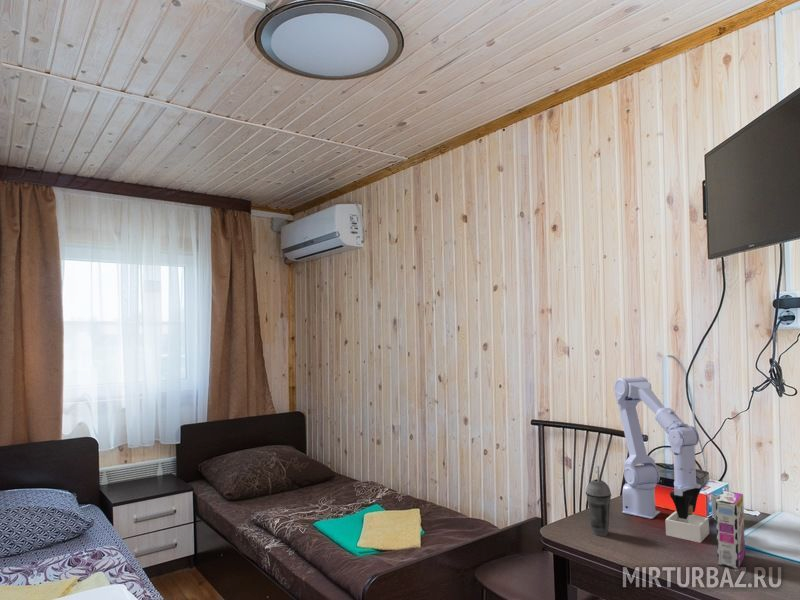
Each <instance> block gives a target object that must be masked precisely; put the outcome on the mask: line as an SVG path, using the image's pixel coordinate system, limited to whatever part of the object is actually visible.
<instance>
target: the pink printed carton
mask: <svg viewBox="0 0 800 600" xmlns="http://www.w3.org/2000/svg"><path fill="white" fill-rule="evenodd" d="M719 495H720V496H719V497H718V498H717V500H716V520H715V521H716V544H717V545H716V547H717V548H716V549H717V552H716V553H717V554H716V555H717V565H718V566H722V567H726V568H729V569H730V568H731V569H734V570H740V567H741V564H742V562H743V560H744V559H745V556H746V543H745V542H746V539H745V514H744V513H745V510H744V509H745V508H744V494H743V493H738V492H733V491H726V490H723V491H722V492H721V493H720V494H719Z"/></svg>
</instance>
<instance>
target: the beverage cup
mask: <svg viewBox="0 0 800 600" xmlns="http://www.w3.org/2000/svg"><path fill="white" fill-rule="evenodd" d="M596 468H597V469H596V470H597V479H593V480H591V481H590V482H588V484H587V486H586V489H585V495H586V500H587V506H588V513H589V521H590V522H589V523H590V528H591V533H592V534H593V535H594V534H595V536H598V535H599V536H600V537H605V536H608V535H609V526H610V525H609V524H610V507H611V506H610V505H611V504H610V503H611V500H612V493H611V489H610V486H609V485H608V484H607V483H606V482H605V480H604V481H603V480H601V479H600V466H599V465H597V467H596ZM599 536H598V537H599Z"/></svg>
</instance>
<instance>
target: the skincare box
mask: <svg viewBox="0 0 800 600" xmlns="http://www.w3.org/2000/svg"><path fill="white" fill-rule="evenodd" d="M720 495H721V494H711V495H710V498H711V515H712V517H711V518H712V519H713V518H714V519H713V520H715V521H716V500H717V498H718V497H719V496H720Z"/></svg>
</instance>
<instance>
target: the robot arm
mask: <svg viewBox="0 0 800 600" xmlns="http://www.w3.org/2000/svg"><path fill="white" fill-rule="evenodd" d="M613 392H614V397H615V400H616V404H617V405H618V410H619V411H618V412H619V415H620V419H621V424H622V428H623V433H624V438H625V441H626V446H627V450H628V451H627V452H628V455H629V456H628V457H627V458H626V460H625V461H624V462H623V466H624V467H623V469H624V472H623V475H624V479H625V482H626V483H625V484H624V485H623V488H622V494H621V495H622V514H626V515H632V516H636V517H640V518H646V519H650V520H652V519H654V518H655V517H656V516H658V515H660V514H661V511H659V510H656V495H655V491H656V490H655V487H657V484H658V483H659V482H660V479H661V473H660V471H659V469H658V467H657V465H656V461H655V459H654V458H653V457H651V456H649V455H648V454H647V450H646V446H645V441H644V437H643V433H642V428H641V423H640V419H639V416H638V412H637V406H638V404H639V403H641V401H642V402H643V403H644V405H646V406H647V407H648V408H649V410H651V411H652V412H653V413H654V414H655V420H656V422H657V423H658V424H659V425H660V427H661V428H662V429H663V430H664V431H665V432H666V434H667V440H668V443H669V444H670V449H671V451H672V453H673V476H674V479H673V480H674V481H673V486H674V488H673V489H674V490H673V491H669V496H670V498H671V500H672V502H673V504H674V506H675V509H676V512H677V514H678V517H679V518H682V519H687V517H688V508H689V504H691V505H692V506H693V513H695V511H696V508H697V506H696V505H697V502H698V498H699V495H700V493H701V491H702V485H701V484H699V483H697V477H696V476H697V470H696V449H695V447H696V445H698V443H699V442H700V441H699V440H700V436H699V435H700V434H699V433H698V430H696V427H694V426H693V425H688V423H685V422H684V421H683V420H682V419H681V418H680V417H679V416H678V415H677V413H676V412H675V410H674V409H672V408H670V407H665V406H664V405H663V403H662V402H661V401H660V399H659V398H658V397H657V395H656V394H655V393H654V392H653V390H652V383H651V382H649V380H648V378H646V377H645V376H637V377H636V376H635V377H618V378H617V379H616V381H615V382H614V385H613Z"/></svg>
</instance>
